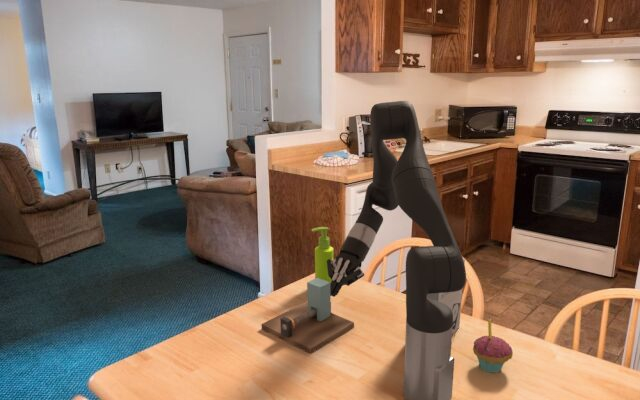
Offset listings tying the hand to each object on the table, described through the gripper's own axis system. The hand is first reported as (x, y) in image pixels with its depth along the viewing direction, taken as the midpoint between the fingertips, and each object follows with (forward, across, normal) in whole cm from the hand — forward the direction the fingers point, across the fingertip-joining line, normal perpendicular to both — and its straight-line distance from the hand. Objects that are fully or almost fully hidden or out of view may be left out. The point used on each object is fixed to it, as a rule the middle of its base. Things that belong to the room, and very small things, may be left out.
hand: (330, 295), depth 136 cm
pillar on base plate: (+11, 0, -2) cm, 11 cm away
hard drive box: (-2, +27, +12) cm, 30 cm away
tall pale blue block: (+7, 0, 0) cm, 7 cm away
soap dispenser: (-4, -14, +13) cm, 20 cm away
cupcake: (0, +44, +9) cm, 45 cm away
